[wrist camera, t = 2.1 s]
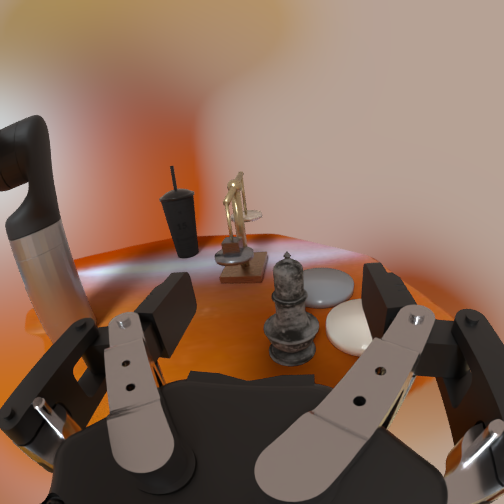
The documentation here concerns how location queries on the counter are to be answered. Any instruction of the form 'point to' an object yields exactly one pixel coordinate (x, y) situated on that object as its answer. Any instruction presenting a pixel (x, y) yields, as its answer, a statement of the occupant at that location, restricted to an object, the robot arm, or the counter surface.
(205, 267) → the counter surface
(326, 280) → the slate-grey dish
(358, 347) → the cream dish
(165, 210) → the drinking cup
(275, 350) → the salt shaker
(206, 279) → the counter surface
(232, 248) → the brass balance
